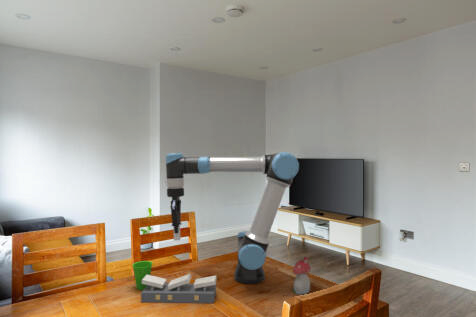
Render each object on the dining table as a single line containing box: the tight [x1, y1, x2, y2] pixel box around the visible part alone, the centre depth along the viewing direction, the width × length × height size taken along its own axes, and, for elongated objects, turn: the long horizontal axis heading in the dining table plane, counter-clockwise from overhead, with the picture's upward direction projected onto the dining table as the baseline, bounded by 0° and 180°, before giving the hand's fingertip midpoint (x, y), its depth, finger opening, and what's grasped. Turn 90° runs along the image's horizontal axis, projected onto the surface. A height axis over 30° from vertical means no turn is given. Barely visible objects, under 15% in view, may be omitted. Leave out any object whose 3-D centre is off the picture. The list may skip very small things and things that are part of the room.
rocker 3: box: [194, 275, 217, 288], centre depth 134 cm, size 9×6×2 cm, turn 89°
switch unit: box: [140, 282, 217, 304], centre depth 134 cm, size 30×10×5 cm, turn 89°
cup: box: [131, 260, 154, 291], centre depth 143 cm, size 9×9×11 cm
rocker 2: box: [168, 273, 192, 290], centre depth 134 cm, size 9×6×2 cm, turn 89°
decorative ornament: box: [292, 256, 312, 296], centre depth 139 cm, size 9×7×15 cm
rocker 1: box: [141, 274, 167, 288], centre depth 134 cm, size 9×6×2 cm, turn 88°
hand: (177, 239), depth 141 cm, fingers closed
